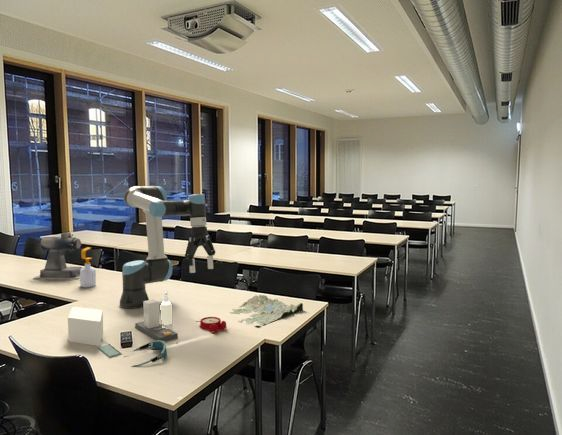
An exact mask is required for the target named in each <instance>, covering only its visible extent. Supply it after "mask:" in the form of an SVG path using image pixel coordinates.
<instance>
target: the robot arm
mask: <svg viewBox="0 0 562 435" xmlns="http://www.w3.org/2000/svg"><path fill="white" fill-rule="evenodd" d="M205 199H206V198H205V195H204V194H202V193H201V194H200V193H198V194H196V193H195V194H194V193H193V194H190V195H189V196H188V199H186V200H185V199H183V200H168V195H167V192H166V190H165V189H164V188H163V187H162V186H159V185H158V186H157V185H134V186H131V187H129V188H127V189H126V190H125V191H124V193H123V201H124V203H125V204H126V205H127V206H128V207H131V208H135V209H136V208H139V209H142V210H141V211H142V212H143V213H144V214H145V225H146V238H147V250H148V255H147V257H146V259H145V260H140V259H139V260H133V261H128V262H125V263H124V264H123V265H122V273H121V274H122V275H121V276H122V293H121V296H120V299H119V307H120V308H124V309H137V308H138V309H139V308H143V301H147V300H150V298H149V296H148V292H147V290H146V285H147V284H153V283H159V282H161V283H162V282H165V281H166V282H167V281H168V280H169V279H171V276H172V274H173V264H172V261H171V260H170V259H168V256H167V255H166V254H165V245H164V243H165V242H164V232H163V231H164V230H163V220H162V219H163V217H178V216H179V217H188V216H189V218H190V219H189V220H190V221H189V222H190V226H191V228H190V234H191V236H192V237H191V236H190V237H188V238H187V240H188V241H187V242H188V243H187V246H186V249H185V253H184V258H185V259H187V260H188V266H189V273H190V274H194V273H196V263H195V262H196V261H195V255H196V252H197V250H198V248H199V247H202V248H203V249H204V251H205V252H206V254H207V256H206V258H207V269H208V270H213V269H214V256H215V254H216V249H215V247H214V244H213V242H212V240H211V235H208V227H207V212H206V210H207V208H206V200H205Z"/></svg>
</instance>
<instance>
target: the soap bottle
mask: <svg viewBox="0 0 562 435" xmlns="http://www.w3.org/2000/svg"><path fill="white" fill-rule="evenodd" d="M91 249H92V247H89V246H87V247H85V248H83V249H82V250H80V251H81V252H80V253H81V259H82V260H84V261H85V262H84V266H83V267H82V269H81V270H80V279H79V284H80V287H81V288H91V287H95V286H96V285H97V276H96V275H97V274H96V272H97V271H96V268H95V267H93V266H91V262H90V261H91V260H93V257H86V254H87V251H88V250H91Z"/></svg>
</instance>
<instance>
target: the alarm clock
mask: <svg viewBox="0 0 562 435" xmlns="http://www.w3.org/2000/svg"><path fill="white" fill-rule="evenodd" d="M195 322H197V323H199V329H202V330H205V331H209V332H211V333H212V334H216V333H217V332H218V331H225V330H226V329H227V322H226V320H222V321H221V318H219V317H216V316H206V317H203V318H201V319H200V321H199V320H196V321H195Z"/></svg>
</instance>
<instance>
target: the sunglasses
mask: <svg viewBox="0 0 562 435" xmlns="http://www.w3.org/2000/svg"><path fill="white" fill-rule="evenodd" d="M166 346H167V343H166V341H165V342H164V341H161V340H152V341H150V342H148V343H146V344H142V345H141V346H139V347H136V348H135V349H133V350H131V352H135V351H139V350H143V349H144V350H145V349H147V348H151V350H152V351H159V352H161V353H159V354H158V355H156V356H155V357H153V358H149V360H147V361H145V362H142V363H138V364H134V365H131V367H136V368H137V367H140V366H144V365H146V364H149V363H154V362H157V361H160V360H161V361H165V360H166V359H167V355H168V352H167V351H168V350H167V347H166ZM125 357H126V358H127V357H128V355H125V356H123V358H125Z"/></svg>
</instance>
